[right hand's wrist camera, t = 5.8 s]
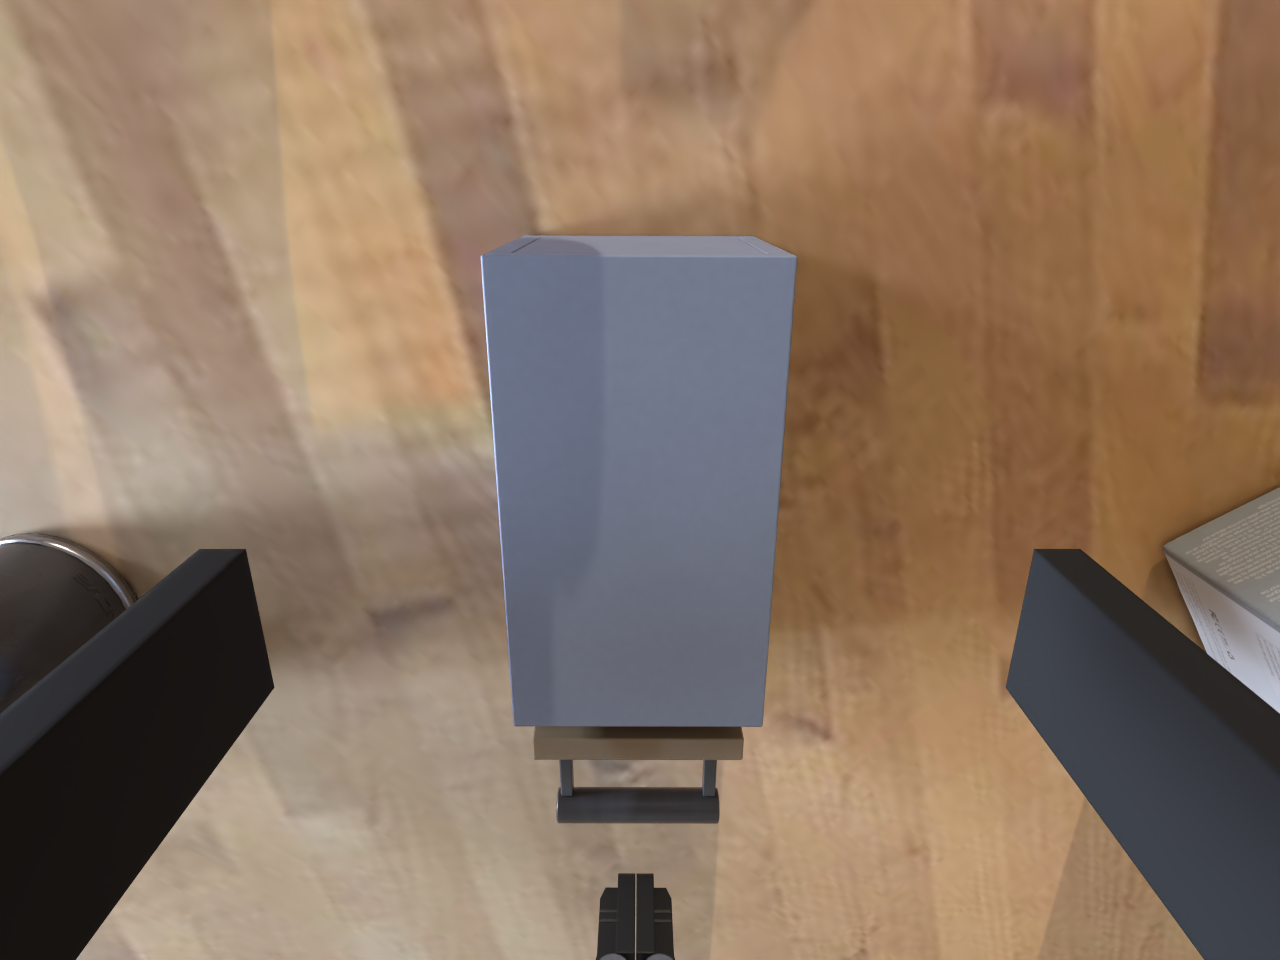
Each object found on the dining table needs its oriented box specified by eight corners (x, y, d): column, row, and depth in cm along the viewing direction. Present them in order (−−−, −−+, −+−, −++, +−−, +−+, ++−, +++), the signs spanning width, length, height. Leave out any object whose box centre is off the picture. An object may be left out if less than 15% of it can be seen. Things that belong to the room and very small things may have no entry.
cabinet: (734, 602, 42) (762, 727, 32) (542, 601, 42) (513, 727, 32) (754, 236, 35) (797, 255, 25) (524, 235, 35) (480, 254, 25)
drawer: (718, 742, 44) (736, 863, 36) (557, 741, 44) (539, 863, 36) (739, 322, 36) (768, 362, 28) (538, 321, 36) (509, 361, 28)
